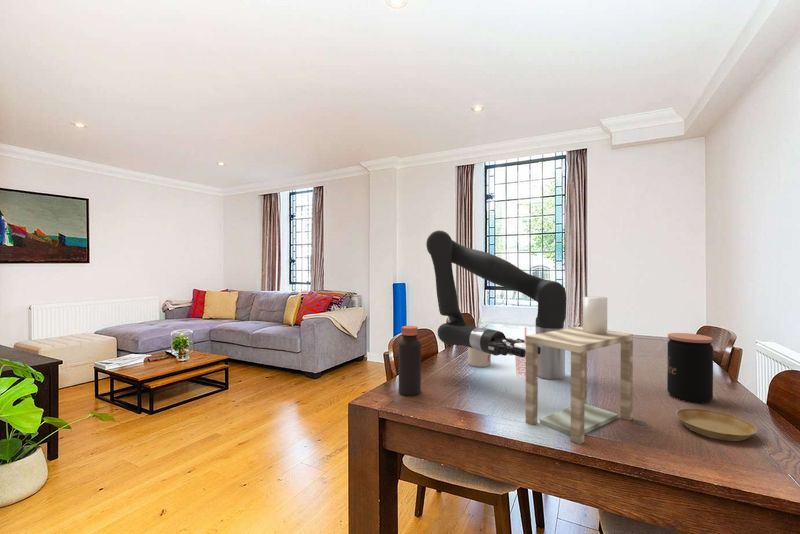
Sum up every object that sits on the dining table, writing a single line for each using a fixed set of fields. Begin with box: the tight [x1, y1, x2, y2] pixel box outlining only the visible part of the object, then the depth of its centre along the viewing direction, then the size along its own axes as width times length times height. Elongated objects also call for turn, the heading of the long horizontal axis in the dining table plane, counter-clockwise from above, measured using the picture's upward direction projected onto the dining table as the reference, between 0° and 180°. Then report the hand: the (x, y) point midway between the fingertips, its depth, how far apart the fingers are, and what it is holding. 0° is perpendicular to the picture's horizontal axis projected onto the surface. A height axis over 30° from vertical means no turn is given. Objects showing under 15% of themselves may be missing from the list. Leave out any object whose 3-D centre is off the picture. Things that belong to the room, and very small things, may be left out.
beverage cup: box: [514, 326, 528, 380], centre depth 108 cm, size 6×6×14 cm
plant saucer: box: [675, 407, 758, 442], centre depth 90 cm, size 15×15×3 cm
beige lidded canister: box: [467, 347, 492, 368], centre depth 150 cm, size 12×9×12 cm
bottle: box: [398, 325, 422, 397], centre depth 116 cm, size 7×7×20 cm
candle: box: [582, 296, 608, 334], centre depth 99 cm, size 6×6×9 cm
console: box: [525, 326, 634, 445], centre depth 95 cm, size 24×14×22 cm, turn 124°
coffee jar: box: [666, 332, 714, 404], centre depth 111 cm, size 11×11×18 cm
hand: (532, 352), depth 106 cm, fingers closed on beverage cup, 6 cm apart
